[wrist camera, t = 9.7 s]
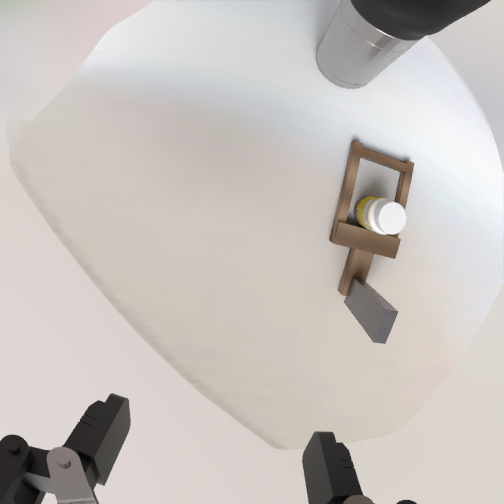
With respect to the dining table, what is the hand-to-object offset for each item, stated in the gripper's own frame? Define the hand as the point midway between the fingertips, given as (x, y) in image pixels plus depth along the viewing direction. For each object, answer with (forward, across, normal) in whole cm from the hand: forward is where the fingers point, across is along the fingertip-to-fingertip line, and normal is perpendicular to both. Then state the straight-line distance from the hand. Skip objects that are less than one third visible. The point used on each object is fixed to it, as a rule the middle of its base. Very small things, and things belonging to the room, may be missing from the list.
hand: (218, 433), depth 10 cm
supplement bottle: (+32, -16, -10) cm, 37 cm away
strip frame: (+31, -17, -8) cm, 36 cm away
